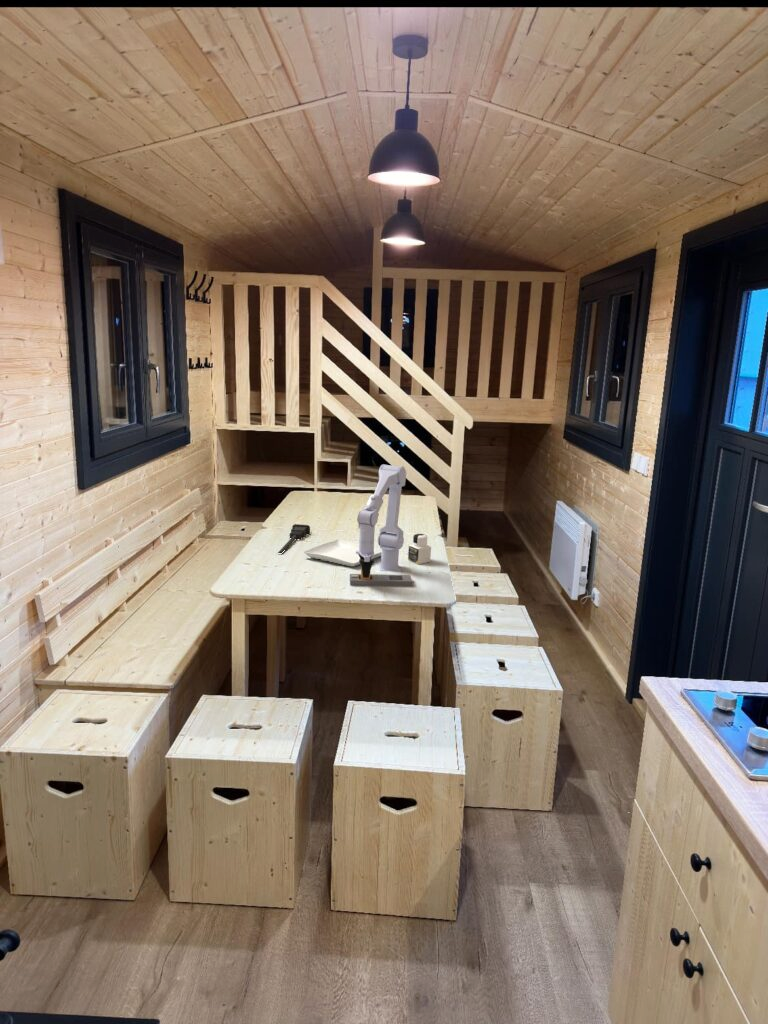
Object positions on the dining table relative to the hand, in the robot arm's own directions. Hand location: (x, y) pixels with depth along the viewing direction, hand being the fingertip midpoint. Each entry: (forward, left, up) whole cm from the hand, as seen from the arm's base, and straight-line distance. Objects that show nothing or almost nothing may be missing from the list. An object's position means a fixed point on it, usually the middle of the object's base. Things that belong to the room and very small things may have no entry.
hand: (365, 574), depth 277 cm
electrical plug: (-58, -31, -4) cm, 66 cm away
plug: (0, 0, -3) cm, 3 cm away
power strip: (0, +6, -4) cm, 7 cm away
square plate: (-35, -7, -4) cm, 36 cm away
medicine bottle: (-31, +25, -4) cm, 40 cm away
